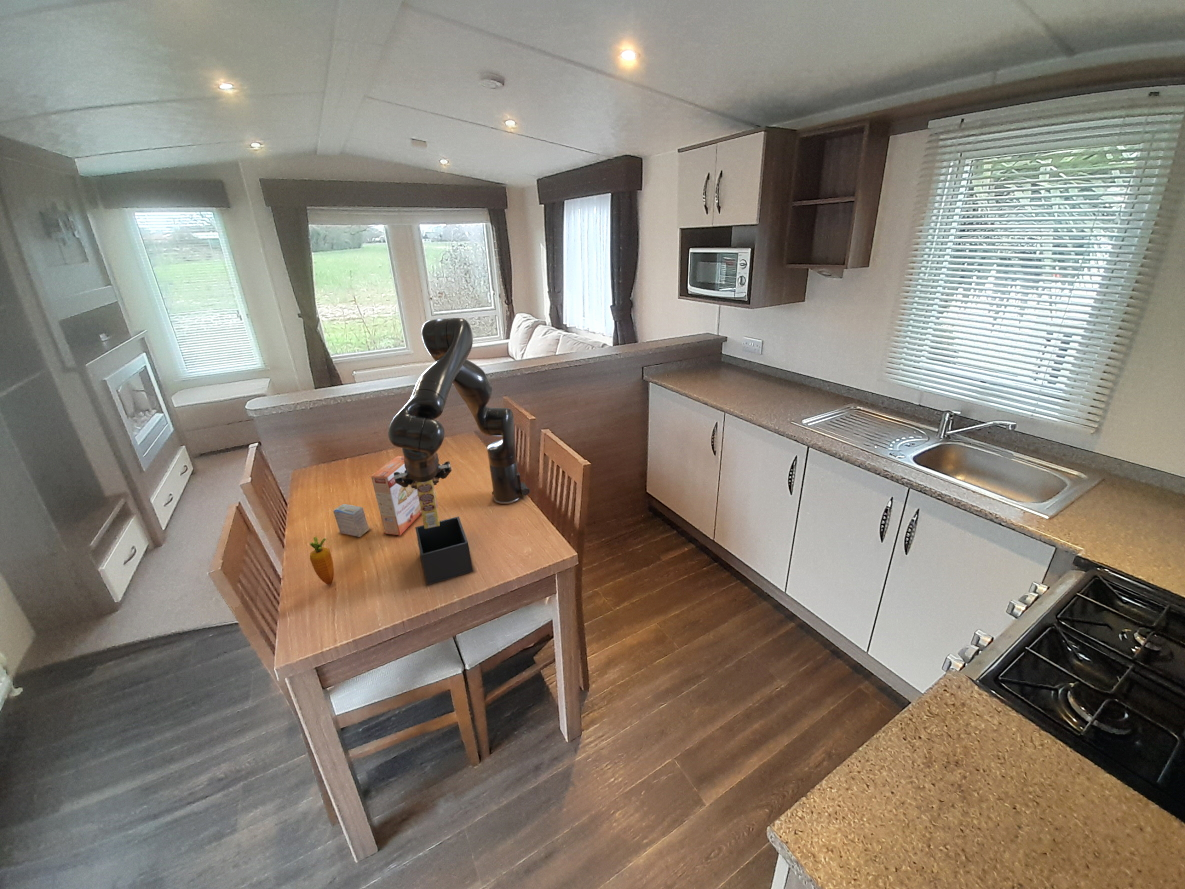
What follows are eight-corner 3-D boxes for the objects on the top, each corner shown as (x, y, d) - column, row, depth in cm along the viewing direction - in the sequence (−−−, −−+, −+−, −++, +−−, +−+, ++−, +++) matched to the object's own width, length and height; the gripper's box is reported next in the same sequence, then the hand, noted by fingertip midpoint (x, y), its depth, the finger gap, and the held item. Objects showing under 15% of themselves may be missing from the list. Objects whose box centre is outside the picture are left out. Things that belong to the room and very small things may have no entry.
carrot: (324, 579, 130) (309, 534, 124) (343, 577, 131) (328, 532, 124) (316, 591, 126) (300, 545, 120) (336, 590, 126) (320, 544, 120)
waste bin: (463, 543, 143) (458, 516, 139) (473, 571, 131) (468, 542, 127) (421, 555, 139) (415, 527, 135) (427, 585, 127) (420, 555, 123)
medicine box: (370, 529, 151) (363, 506, 147) (359, 538, 147) (352, 514, 144) (350, 525, 154) (343, 502, 150) (339, 533, 150) (332, 510, 146)
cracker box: (401, 536, 147) (387, 477, 139) (384, 534, 149) (369, 475, 140) (424, 511, 160) (413, 456, 151) (408, 510, 161) (395, 454, 152)
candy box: (441, 526, 126) (431, 475, 119) (424, 529, 125) (413, 478, 118) (439, 509, 134) (429, 460, 127) (423, 512, 132) (412, 463, 126)
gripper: (449, 441, 115) (449, 465, 130) (386, 453, 110) (393, 476, 125) (456, 469, 113) (455, 490, 128) (392, 483, 108) (399, 503, 123)
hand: (424, 483), depth 126 cm, fingers closed on candy box, 4 cm apart
